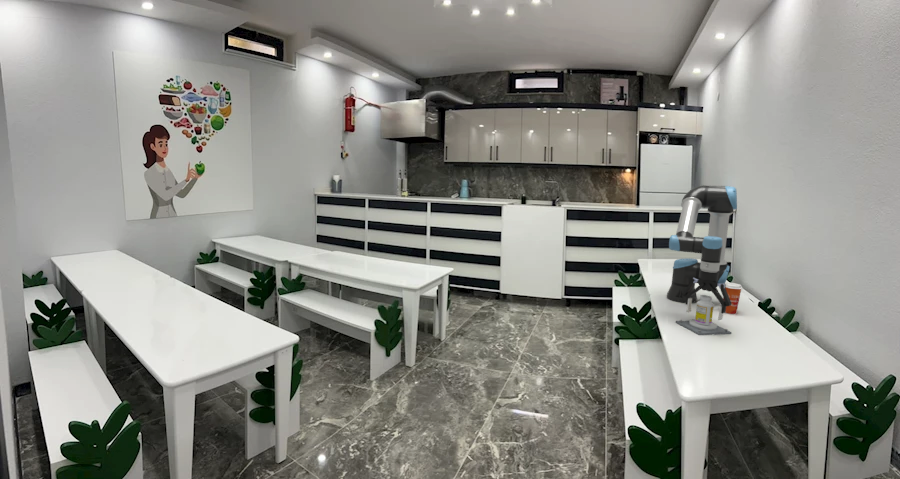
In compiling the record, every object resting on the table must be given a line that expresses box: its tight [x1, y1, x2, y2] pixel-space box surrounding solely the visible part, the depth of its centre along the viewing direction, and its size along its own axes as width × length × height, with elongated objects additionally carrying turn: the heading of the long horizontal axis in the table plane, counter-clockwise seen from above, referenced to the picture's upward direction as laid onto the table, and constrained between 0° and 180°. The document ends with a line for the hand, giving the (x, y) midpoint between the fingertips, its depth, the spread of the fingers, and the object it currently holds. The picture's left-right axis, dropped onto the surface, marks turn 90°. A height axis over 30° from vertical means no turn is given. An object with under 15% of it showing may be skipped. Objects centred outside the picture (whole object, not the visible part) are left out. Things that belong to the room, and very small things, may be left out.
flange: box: [675, 318, 732, 336], centre depth 203 cm, size 16×16×2 cm
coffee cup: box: [722, 282, 743, 315], centre depth 226 cm, size 8×8×15 cm
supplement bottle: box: [694, 294, 715, 325], centre depth 202 cm, size 7×7×13 cm
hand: (704, 315), depth 202 cm, fingers open, 13 cm apart
